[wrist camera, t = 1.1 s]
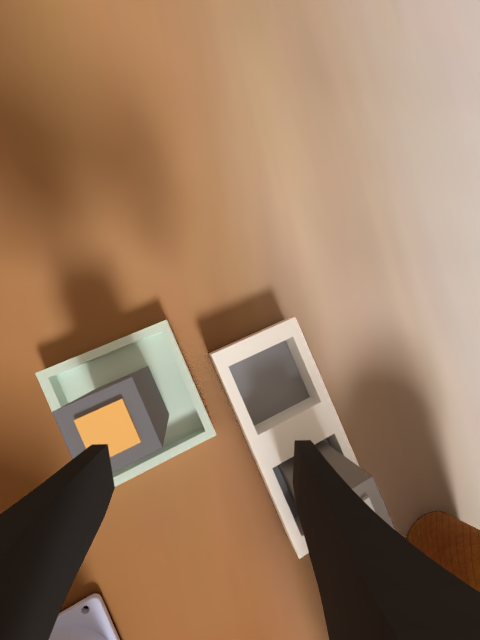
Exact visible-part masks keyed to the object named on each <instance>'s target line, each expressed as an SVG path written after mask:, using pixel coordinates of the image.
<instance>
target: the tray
mask: <svg viewBox="0 0 480 640" xmlns="http://www.w3.org/2000/svg"><path fill="white" fill-rule="evenodd" d="M147 366H149V369H150V371H151V373H152V376H153V378H154V380H155V382H156V385H157V387H158V389H159V392H160V394H161V396H162V399H163V401H164V403H165V406H166V408H167V410H168V412H169V419H168V424H167V429H166V433H165V438H164V443H163V448H161V449H159V450H157V451H155V452H153V453H151V454H149V455H147V456H145V457H143V458H141V459H139V460H137V461H135V462H133V463H131V464H129V465H127V466H125V467H123V468H121V469H119V470H117V471H115V472H113V473H112V474H113V480H114V486H115V487H116V486H118V485H119V484H121V483H123V482H125V481H127V480H129V479H131V478H133V477H135V476H137V475H139V474H141V473H143V472H145V471H147V470H149V469H151V468H153V467H155V466H157V465H159V464H161V463H162V462H164V461H166V460H168V459H170V458H172V457H174V456H176V455H178V454H180V453H182V452H184V451H186V450H188V449H190V448H192V447H194V446H196V445H198V444H200V443H202V442H203V441H205V440H207V439H209V438H211V437H213V436H215V435H216V433H215V430H214V427H213V425H212V422H211V420H210V418H209V416H208V413H207V411H206V409H205V406H204V404H203V402H202V399H201V397H200V395H199V392H198V390H197V388H196V385H195V383H194V381H193V379H192V376H191V374H190V372H189V369H188V367H187V365H186V362H185V360H184V358H183V355H182V353H181V351H180V348H179V346H178V344H177V341H176V339H175V337H174V335H173V332H172V330H171V328H170V325H169V323H168V321H167V320H164V321H162V322H159V323H157V324H154V325H152V326H149V327H147V328H145V329H142V330H140V331H137V332H135V333H132V334H130V335H127V336H125V337H123V338H120V339H118V340H115V341H113V342H110V343H108V344H105V345H103V346H101V347H98V348H96V349H93V350H91V351H88V352H86V353H83V354H81V355H78V356H76V357H74V358H71V359H69V360H66V361H64V362H61V363H59V364H56V365H54V366H52V367H49V368H47V369H44V370H42V371H39V372H37V373H35V374H36V376H37V378H38V381H39V383H40V385H41V388H42V390H43V392H44V394H45V397H46V399H47V401H48V404H49V406H50V408H51V410H52V412H53V411H55V410H57V409H59V408H60V407H62V406H64V405H66V404H68V403H70V402H72V401H74V400H76V399H77V398H79V397H81V396H83V395H85V394H87V393H89V392H91V391H92V390H94V389H96V388H99V387H101V386H103V385H106V384H108V383H110V382H113V381H115V380H117V379H119V378H122V377H124V376H126V375H129V374H131V373H133V372H135V371H138V370H140V369H142V368H145V367H147Z"/></svg>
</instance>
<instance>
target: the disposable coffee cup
mask: <svg viewBox="0 0 480 640" xmlns="http://www.w3.org/2000/svg"><path fill="white" fill-rule="evenodd" d="M407 540H408V541H409V542H410V543H412V544H413V545H414V546H415V547H417V548H418V549H419V550H421V551H422V552H423V553H424V554H426V555H427V556H428V557H430V558H431V559H432V560H434V561H435V562H436V563H438V564H439V565H441V566H442V567H443V568H445V569H446V570H448V571H449V572H450V573H452V574H453V575H455V576H456V577H458V578H459V579H461V580H462V581H463V582H465V583H466V584H468V585H469V586H471V587H472V588H474V589H475V590H477V591H479V592H480V530H478V529H476V528H474V527H472V526H470V525H468V524H466V523H464V522H462V521H460V520H458V519H456V518H454V517H452V516H451V515H449V514H447V513H443V512H432V513H428V514H426V515H424V516H422V517H421V518H420V519H418V520H417V522H416V523H415V524H414V525H413V527H412V528H411V530H410V532H409V534H408V537H407Z"/></svg>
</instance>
